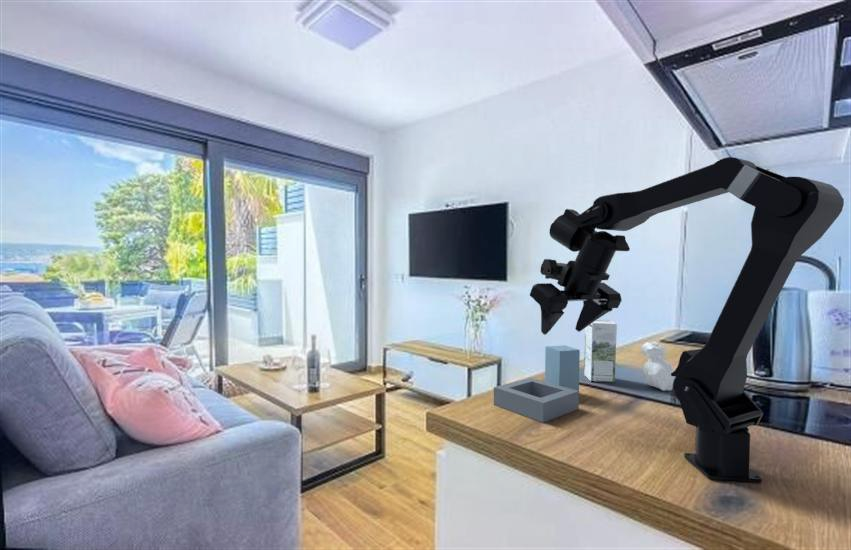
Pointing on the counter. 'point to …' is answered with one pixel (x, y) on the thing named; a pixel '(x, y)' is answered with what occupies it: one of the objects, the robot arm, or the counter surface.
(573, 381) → the peg block
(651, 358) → the duck figurine
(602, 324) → the syrup box
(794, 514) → the counter surface
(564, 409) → the box
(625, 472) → the counter surface
